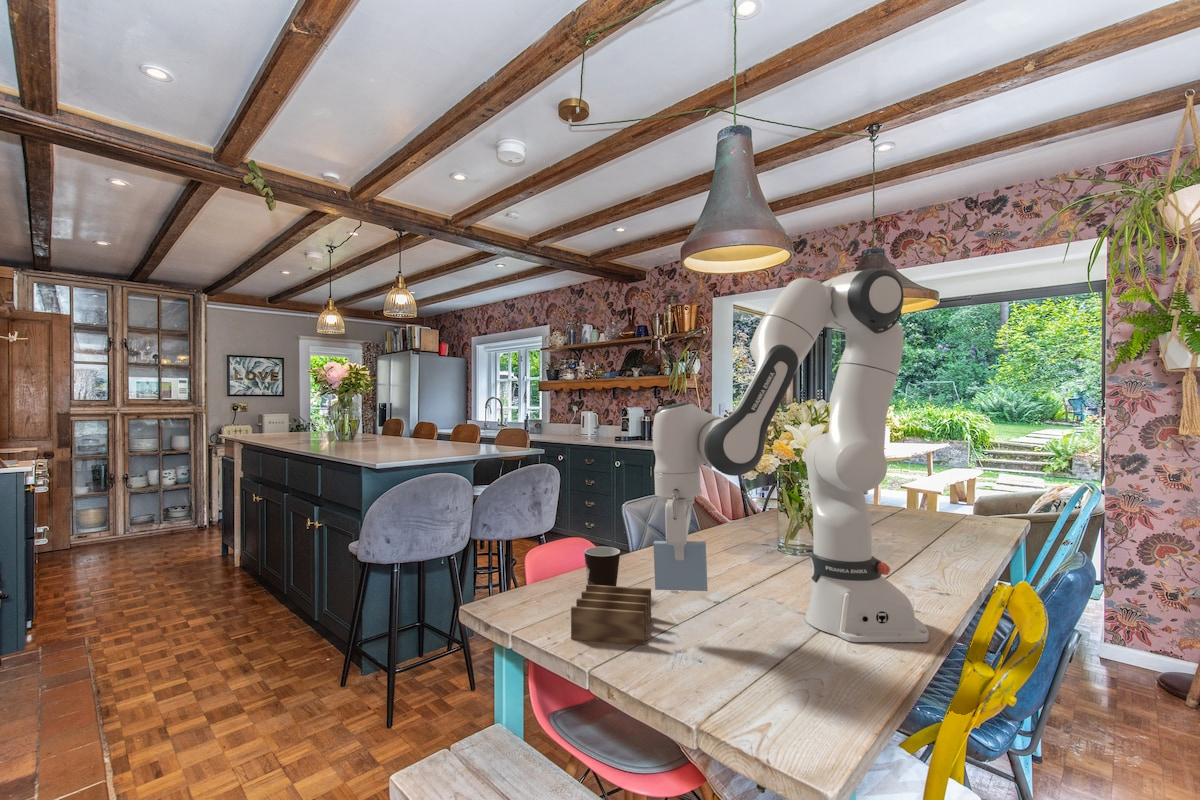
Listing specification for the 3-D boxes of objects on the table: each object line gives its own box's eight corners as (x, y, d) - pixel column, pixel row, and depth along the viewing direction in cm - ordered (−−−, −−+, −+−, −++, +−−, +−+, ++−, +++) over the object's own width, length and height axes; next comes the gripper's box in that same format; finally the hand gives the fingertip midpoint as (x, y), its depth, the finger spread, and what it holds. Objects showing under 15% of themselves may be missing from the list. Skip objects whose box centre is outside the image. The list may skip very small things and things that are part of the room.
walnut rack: (651, 616, 118) (651, 588, 118) (643, 645, 104) (643, 613, 104) (586, 612, 120) (586, 584, 120) (571, 638, 107) (571, 607, 107)
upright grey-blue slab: (707, 587, 108) (705, 541, 108) (707, 591, 106) (705, 544, 106) (656, 586, 110) (654, 540, 110) (655, 589, 108) (653, 543, 108)
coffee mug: (616, 600, 127) (616, 557, 127) (580, 598, 129) (580, 555, 129) (624, 584, 139) (624, 544, 139) (591, 582, 140) (591, 542, 141)
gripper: (691, 494, 97) (695, 573, 97) (695, 478, 117) (698, 543, 117) (656, 495, 98) (659, 572, 98) (665, 478, 118) (668, 543, 118)
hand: (680, 556), depth 108 cm, fingers closed on upright grey-blue slab, 2 cm apart
